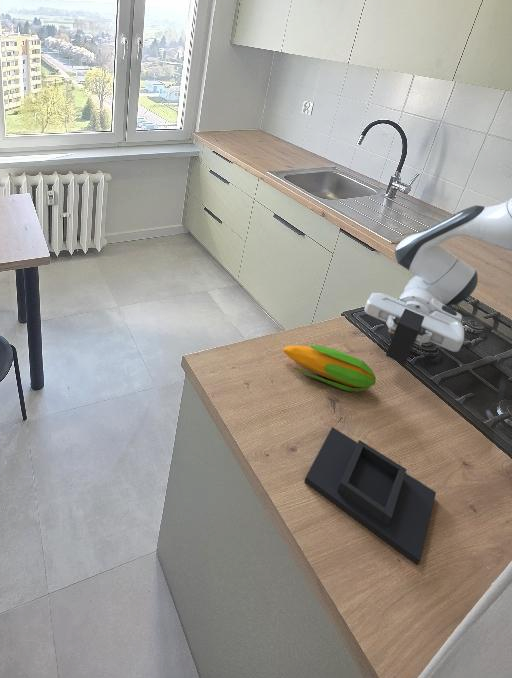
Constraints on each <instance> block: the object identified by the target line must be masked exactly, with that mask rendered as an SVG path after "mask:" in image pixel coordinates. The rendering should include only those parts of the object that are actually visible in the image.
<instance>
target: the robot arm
mask: <svg viewBox="0 0 512 678" xmlns="http://www.w3.org/2000/svg"><path fill="white" fill-rule="evenodd" d="M455 237H466V238H472V239H476V240H478V241H482V242H485V243H487V244H490V245H493V246H494V247H498V248H500V249H503V250H506V251H510V252H512V197H510V198H509V199H508V200H507V201H505V202H502V203H500V204H495V205H487V206H483V205H472V206H469V207H467V208H464V209H462V210H460V211H458V212H456V213H454V214H452V215H450V216H448V217H446V218H444V219H442V220H440V221H438V222H436V223H435V224H432V225H431V226H429V227H427V228H425V229H423V230H420V231H418V232H415V233H412V234H410V235H409V236H407V237H405V238H403V239H402V240H401V241H400V242H398V244H397V246H396V247H395V248H394V256H395V259H396V262H397V264H398V265H400V266H401V267H403V268H404V269H405V270H407V271H410V272H412V273H413V274H414V276H413V277H412V278H411V279H410V280H409V281H408V282H407V284H406V285H405V287H404V289H403V292H402V293H401V295H400V296H399V298H396V297H393V296H391V295H388V294H386V293H382V292H371V293H370V295H369V297H368V299H367V300H366V303H365V306H364V309H363V310H364V312H365V314H366V315H368V316H370V317H373V318H375V319H377V320H380V321H381V322H385V323H386V326H387V328H388V330H387V332H388V333H390V334H393V335H394V332H395V330H396V327H397V324H398V322H399V320H400V318H401V316H402V314H403V312H404V310H405V309H408V310H410V311H413V312H415V313H417V314H420V315H422V316H425V317H424V320H423V322H422V325H421V327H420V329H419V332H418V334H417V337H416V339H415V342H414V344H416V345H417V346H419V347H422V345H423V344H426V343H429V342H430V343H432V344H434V345H436V346H439V347H441V348H443V349H444V350H445V349H446V350H448V351H450V352H451V353H452V352H453V353H458V352H459V351H460V350H461V348H462V345H463V344H464V341H465V327H464V325H463V324H462V320H463V315H462V314H461V313H459V312H457V311H455V310H454V309H452V308H451V307H449V306H454V305H458V304H460V303H462V302H463V301H465V300H466V299H468V298H469V297H470V296H471V295H472V294H473V292H474V291H475V290H476V287H477V286H478V279H479V278H478V277H479V276H478V272H477V270H476V269H475V268H473V267H472V266H471V265H469V264H468V263H467V262H466V261H464V260H462V259H461V258H459V257H458V256H456V255H454V253H452V252H450V251H449V250H447V249H446V248H444V247H443V245H441V244H442V243H444V242H447V241H449V240H451V239H453V238H455Z"/></svg>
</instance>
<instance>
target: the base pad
mask: <svg viewBox="0 0 512 678" xmlns="http://www.w3.org/2000/svg"><path fill="white" fill-rule="evenodd" d="M406 472H407V469H406V468H405V467H404V466H402V465H400V464H399V463H397V462H396V461H394V460H392V459H391V458H390V457H388V456H386V455H385V454H383V453H382V452H380V451H378V450H376V449H375V448H373V447H371V446H370V445H368V444H367V443H365V442H363V440H360V439H359V440H358V442H357V441H355V440H354V439H352V438H351V437H349V436H347V435H346V434H345V433H343V432H341V431H339V430H338V429H336V428H335V427H333V426H331V428H330V430H329V432H328V434H327V436H326V438H325V440H324V442H323V443H322V445H321V447H320V449H319V451H318V453H317V455H316V457H315V459H314V461H313V462H312V465H311V466H310V468H309V470H308V471H307V473H306V475H305V477H304V481H303V483H304V484H306V485H307V486H309V487H310V488H312V489H313V490H314V491H316V492H317V493H318V494H319V495H320V496H322V497H323V498H325V499H326V500H328V501H329V502H330V503H331V504H333V505H334V506H336V507H337V508H338V509H340V510H341V511H342V512H344V513H345V514H347V516H349V517H350V518H352V519H354V520H355V521H356V522H357V523H359V524H360V525H362V526H363V527H364V528H366V529H367V530H368V531H370V532H371V533H373V534H374V535H375V536H376V537H377V538H379V539H380V540H382V541H383V542H384V543H386V544H387V545H389V546H390V547H391V548H393V549H394V550H396V551H397V552H399V554H401V555H402V556H404V557H405V558H406V559H408V560H409V561H410V562H412V563H413V564H415V565H416V566H418V565H419V564H420V561H421V560H422V555H423V552H424V551H423V550H424V545H425V541H426V537H427V533H428V530H429V529H428V528H429V525H430V520H431V515H432V512H433V507H434V502H435V500H436V499H435V498H436V494H437V493H436V491H435V490H433V489H432V488H430V487H429V486H427V485H425V484H424V483H422V482H421V481H419V480H417V479H416V478H414V477H413V476H411V475H409V474H408V473H406Z"/></svg>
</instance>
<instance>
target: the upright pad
mask: <svg viewBox="0 0 512 678" xmlns="http://www.w3.org/2000/svg"><path fill="white" fill-rule="evenodd" d="M424 317H425V316H422V315H420V314H417V313H415V312H413V311H410V310H408V309H405V310H404V312H403V314H402V316H401V318H400V320H399V322H398V324H397V327H396V330H395V332H394V334H393V335H392V338H391V341H390V343H389V345H388V348H387V351H386V354H385V357H388V358H389V359H392V360H393V361H396V362H397V363H400V364H402V365H404V366H405V365H406V363H407V361H408V359H409V356H410V354H411V352H412V350H413V346H414V344H415V343H414V342H415V339H416V337H417V334H418V332H419V329H420V327H421V325H422V322H423V320H424Z"/></svg>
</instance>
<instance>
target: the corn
mask: <svg viewBox="0 0 512 678" xmlns="http://www.w3.org/2000/svg"><path fill="white" fill-rule="evenodd" d="M282 349H283V354H284V355H286V356H287V357H288V358H289V359H291V360H292V361H293V362H295V364H297V365H299V366H301V367H303V368H305V369H307V370H309V371H311V372H313V373H315V374H317V375H319V376H317V375H314V374H312V373H309V372H306V371H304V370H302V369H300V368H297V367H293V369H294V370H295V371H298V372H300V373H301V374H304V375H306V376H309V377H311V378H313V379H316V380H317V381H320V382H323V383H326V384H328V385H329V386H333V387H335V388H337V389H340V390H343V391H345V392H363V391H364V390H365V391H366V390H367V389H370V388H372V387H373V386H374V385H376V382H377V381H376V380H377V379H376V378H377V377H376V375H375V373H374V371H373V369H372V368H371V367H370V366H369V365H368V364H367V363H366V362H365V361H364V360H363V359H359V358H357V357H355V356H353V355H350V354H348V353H345V352H343V351H340V350H338V349H335V348H331V347H328V346H321V345H313V344H312V345H310V346H307V345H292V344H291V345H288V346H285V347H283V348H282ZM320 376H322V377H320ZM323 377H324V378H323Z"/></svg>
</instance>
